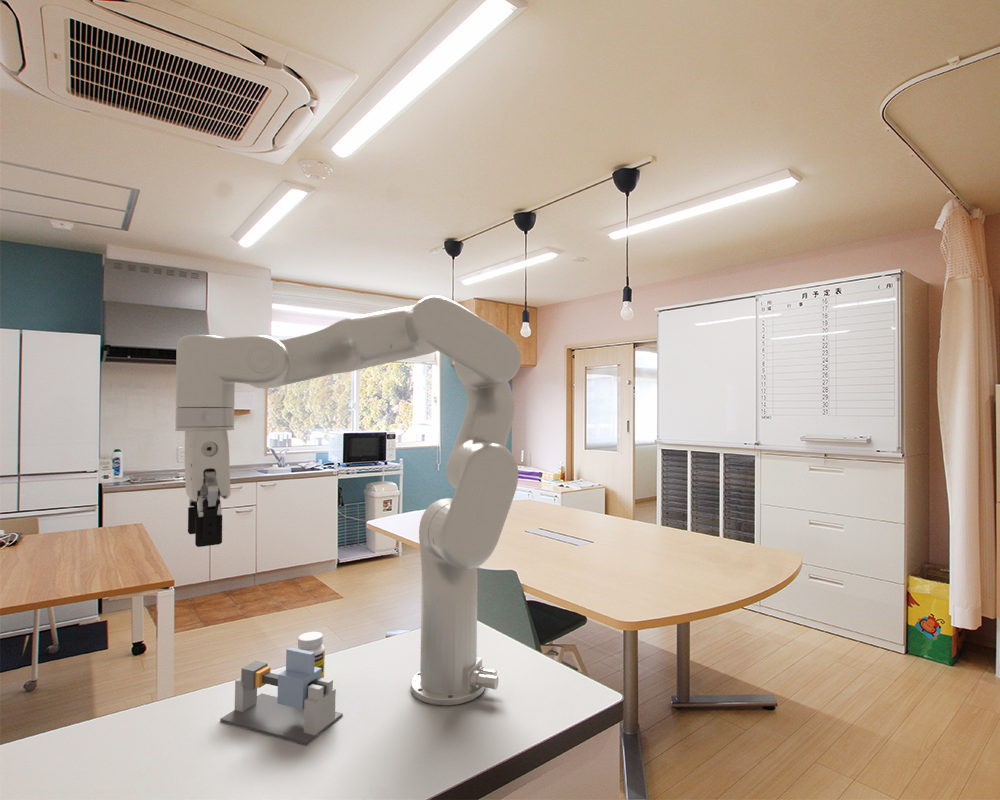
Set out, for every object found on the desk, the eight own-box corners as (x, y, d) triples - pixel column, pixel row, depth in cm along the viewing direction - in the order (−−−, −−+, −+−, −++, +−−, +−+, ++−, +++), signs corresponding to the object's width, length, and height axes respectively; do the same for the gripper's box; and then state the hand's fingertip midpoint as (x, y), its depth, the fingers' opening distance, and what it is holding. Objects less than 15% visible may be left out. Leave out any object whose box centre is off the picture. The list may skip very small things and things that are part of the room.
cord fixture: (342, 716, 82) (343, 670, 82) (306, 745, 75) (307, 694, 75) (261, 695, 88) (262, 652, 88) (220, 721, 80) (221, 674, 81)
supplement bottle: (314, 694, 88) (315, 642, 89) (288, 691, 89) (289, 640, 90) (329, 680, 93) (330, 631, 93) (304, 678, 94) (305, 629, 94)
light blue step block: (320, 696, 81) (321, 648, 82) (302, 709, 78) (303, 659, 78) (296, 690, 83) (297, 643, 83) (277, 703, 79) (278, 653, 79)
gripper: (244, 420, 74) (243, 546, 73) (224, 420, 88) (223, 525, 87) (181, 421, 69) (179, 555, 69) (170, 420, 83) (169, 531, 83)
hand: (204, 538), depth 78 cm, fingers open, 9 cm apart
